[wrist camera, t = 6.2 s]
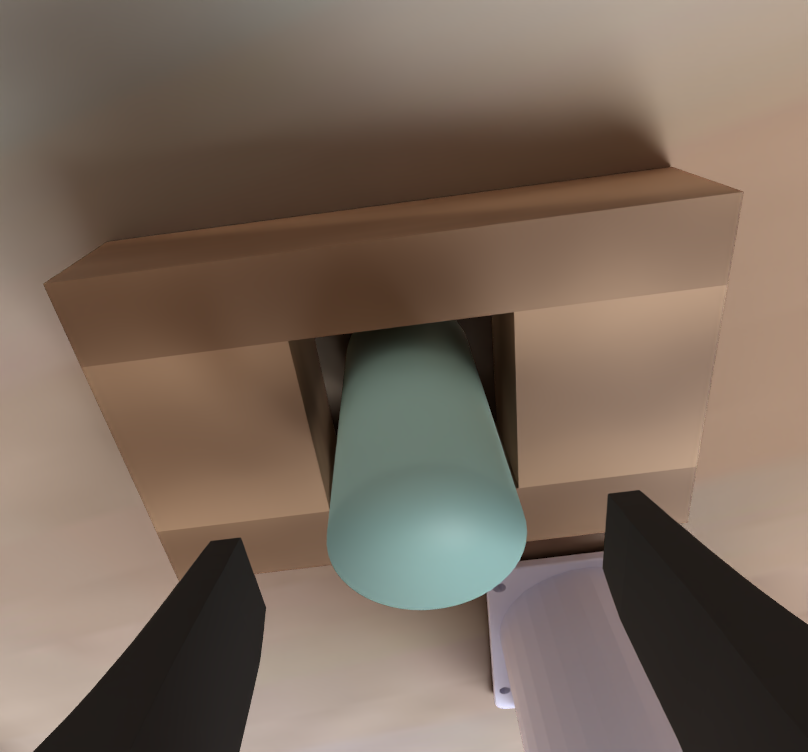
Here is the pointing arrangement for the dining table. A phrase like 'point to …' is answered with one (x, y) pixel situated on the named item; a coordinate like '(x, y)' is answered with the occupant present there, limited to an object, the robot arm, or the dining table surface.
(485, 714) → the dining table surface
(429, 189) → the dining table surface
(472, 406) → the peg
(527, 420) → the socket
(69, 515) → the dining table surface
